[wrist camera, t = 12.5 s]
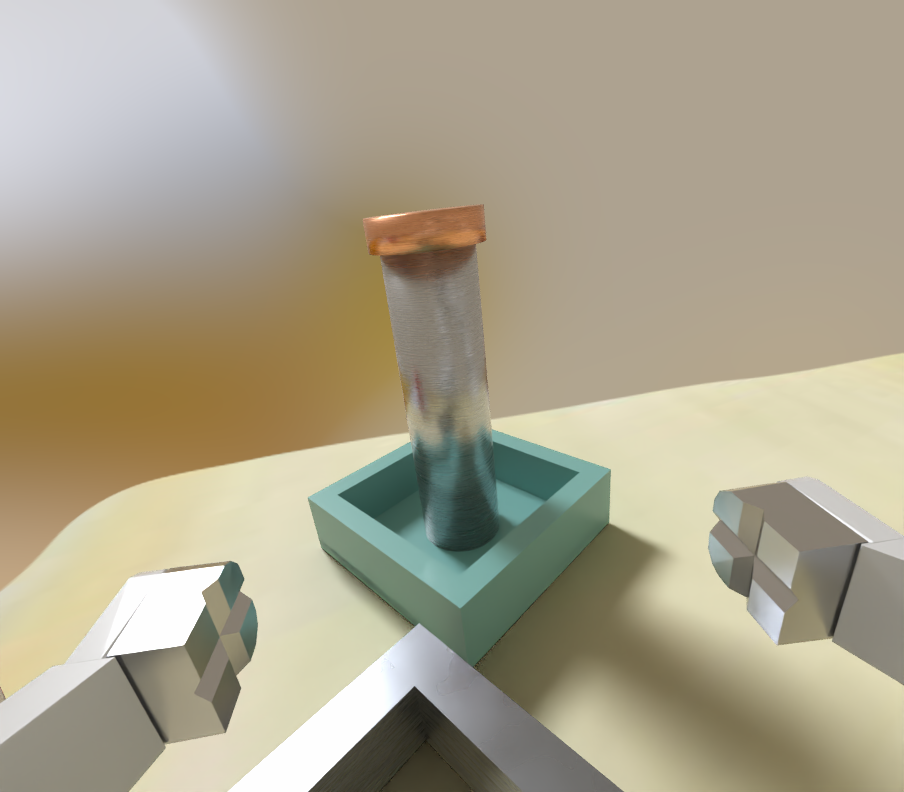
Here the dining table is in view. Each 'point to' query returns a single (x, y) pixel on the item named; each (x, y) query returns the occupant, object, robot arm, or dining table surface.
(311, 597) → the dining table surface
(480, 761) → the block
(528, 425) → the dining table surface
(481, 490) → the lock pin
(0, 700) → the soda can
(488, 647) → the tray
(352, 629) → the dining table surface
